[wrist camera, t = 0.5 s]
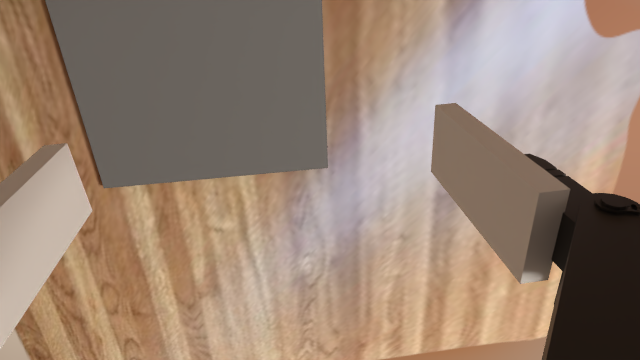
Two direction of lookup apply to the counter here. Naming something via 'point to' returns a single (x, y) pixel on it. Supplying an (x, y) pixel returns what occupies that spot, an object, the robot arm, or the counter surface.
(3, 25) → the counter surface
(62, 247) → the robot arm
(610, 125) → the counter surface
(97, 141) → the mat
